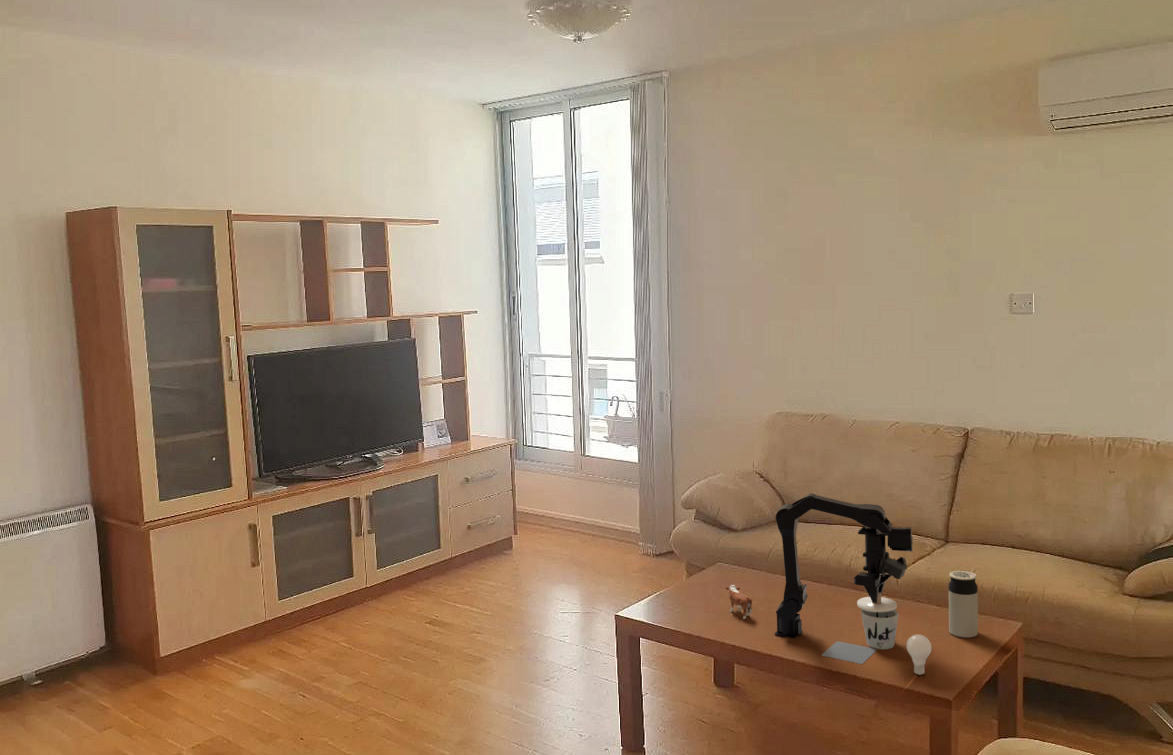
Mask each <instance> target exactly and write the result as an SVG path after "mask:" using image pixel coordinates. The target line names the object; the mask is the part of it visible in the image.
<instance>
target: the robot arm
mask: <svg viewBox="0 0 1173 755" xmlns="http://www.w3.org/2000/svg"><path fill="white" fill-rule="evenodd" d="M811 510H813V511H814V510H815V511H819V512H822V513H827V514H832V515H835V516H839V517H843V518H847V519H851V520H853V521H855V522H856V523H858V524H860V525H862V527H860V528H859V529H858V530H857V534H858V535H864V547H865V548H864V552H862V557H863V558H865V565H863V567H862V571H860V572H859V573H858V574H857V575H855V576H854V577H853V582H854V585H856V586H862V587H864V589H865V590H866V592H867V594H868V597H870V598H871V600H872V602H873V603H877V598H878V592H881V596H882V594H883V590H884V587H885V583H886V582H887V580H889V579H890V578H891V577H893V578H894V579H896V580H900V579H902V577H904V576H905V573H906V570H908V564H907V561H906V558H905V557H904V556H899V557H898V558H897V559H896V558H891V557H890V553H889V551H887V550H886V549H887V548H886V547H888V548H889V549H890V550H891V551H895V552H898V551H899V552H911V553H912V552H913V546H914V545H913V544H914V539H913V532H912V527H907V526H906V527H898V526H897V527H896V526H894V525H893V524H892V522H891V521H890V520H889V518H888V517H887V516H886V510H885V509H884V508H883V507H882V506H881V505H879V504H871V503H870V504H869V503H863V504H860V503H858V504H857V503H856V504H855V503H851V502H846V501H842V500H838V499H835V498H830V497H826V496H821V495H817V494H816V493H811V492H810V493H808V494H806V495H805V496H804V497H801V498H799V499H797V500H796V501H794V502H793V503H786V504H783V505H782V506H781V507H780V508H779V509H778V511H777V512H776V514H775V521H776V524H777V529H778V531H779V533H780V536H781V540H782V552H783V562H784V575H785V585H784V590H783V600H782V601H781V602H780V604H779V606H778V607H777V609H776V611H775V613H776V632H774V635H775V636H779V637H784V638H791V639H796V638H797V637H799V635H800V634H802V633H803V632H804V631H803V627H802V625H803V624H802V619H801V614H800V612H801V611H802V609H803V607H804V605H805V604H806V601H807V600H808V597H809V596H808V594H807V584H802V581H801V579H800V569H799V568H800V567H799V558H798V557H799V556H798V555H799V554H798V545H797V531H798V530H797V529H798V524H799V518H800V517H802V516H804V515H805V514H806V513H807V512H809V511H811ZM893 526H894V527H893ZM886 537H887V546H886Z"/></svg>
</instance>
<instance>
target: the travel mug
mask: <svg viewBox="0 0 1173 755" xmlns="http://www.w3.org/2000/svg"><path fill="white" fill-rule="evenodd" d="M949 577H950V581H949V583H948V632H949V633H950V634H951V635H953V636H954V637H958V638H965V639H969V638H974V637H976V636H978V635H979V620H978V618H979V608H978V607H979V605H978V604H979V603H978V602H979V601H978V600H979V598H978V597H979V595H978V594H979V592H978V589H979V588H978V585H977V584H978V583H977V582H976V580H977V574H976V573H975V572H972V571H966V570H955V571H951V572H950V573H949Z"/></svg>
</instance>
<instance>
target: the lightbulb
mask: <svg viewBox="0 0 1173 755" xmlns="http://www.w3.org/2000/svg"><path fill="white" fill-rule="evenodd" d="M905 646H906V651H907V653H908V655H909V656H910V657H911V660H912V664H913V672H914V673H915V674H916V675H917V676H922V675H924V674H925V664H926V662H927V659H928V657H929V656H930V654H931V652H932V643H931V642H930V640H929V638H927V637H926V636H925V635H922V634H913V635H910V637H909V638H908V639H907V641H906V645H905Z"/></svg>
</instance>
